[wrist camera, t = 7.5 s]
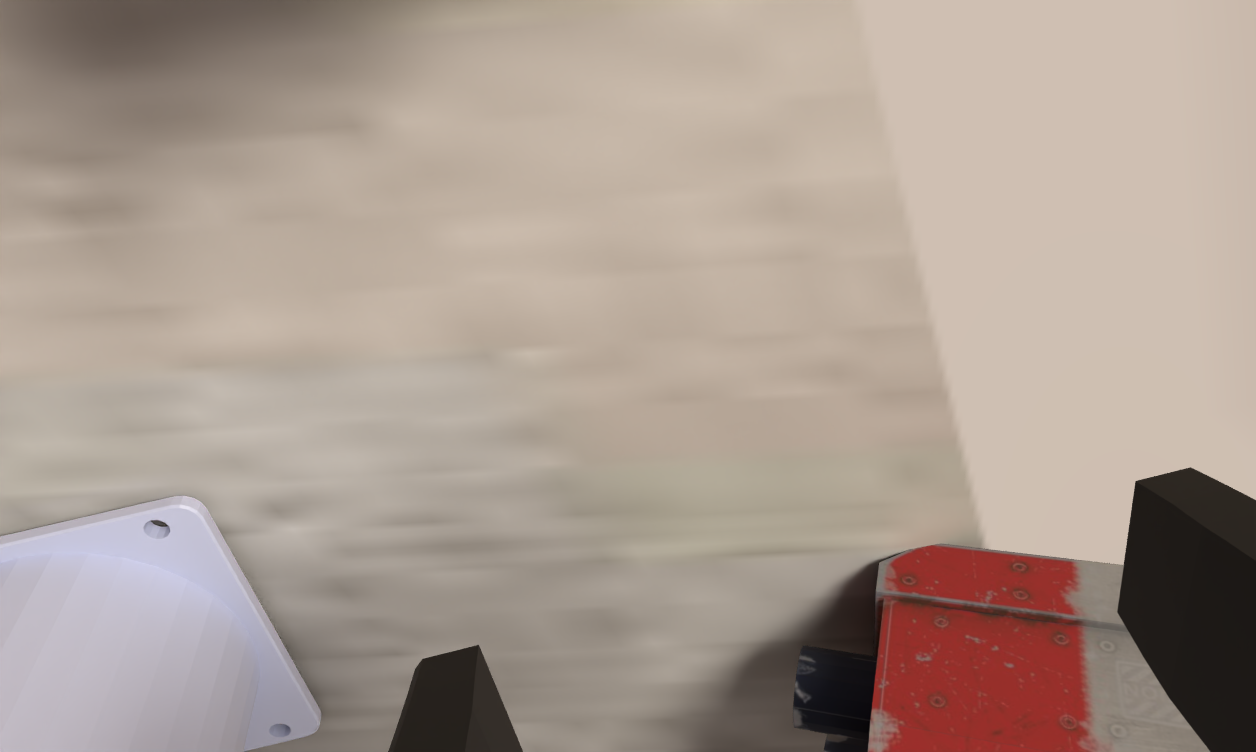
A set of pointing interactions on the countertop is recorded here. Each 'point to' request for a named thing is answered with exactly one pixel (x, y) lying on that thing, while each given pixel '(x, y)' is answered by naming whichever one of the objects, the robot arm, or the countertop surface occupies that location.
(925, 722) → the toy gun
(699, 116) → the countertop surface
